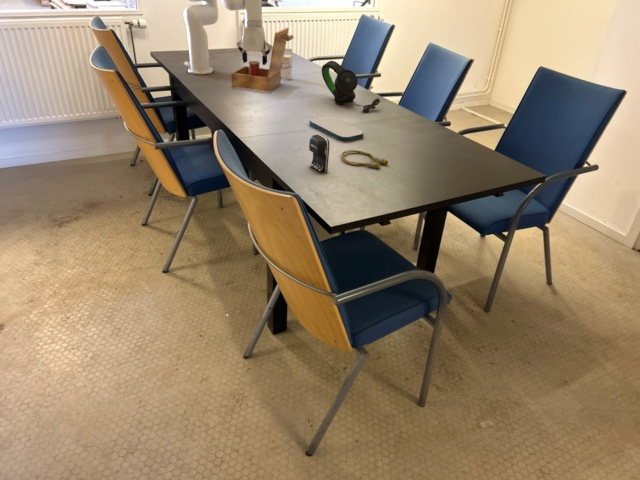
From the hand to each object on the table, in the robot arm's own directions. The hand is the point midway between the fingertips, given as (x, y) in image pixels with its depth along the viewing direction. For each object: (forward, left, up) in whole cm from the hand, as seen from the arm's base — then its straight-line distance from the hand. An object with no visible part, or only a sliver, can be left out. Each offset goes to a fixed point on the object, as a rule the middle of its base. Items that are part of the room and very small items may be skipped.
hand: (254, 63), depth 231 cm
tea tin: (0, 0, -11) cm, 11 cm away
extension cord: (+67, -66, -12) cm, 95 cm away
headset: (+47, -6, -12) cm, 49 cm away
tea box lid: (+10, +3, +6) cm, 12 cm away
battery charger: (+55, -79, -12) cm, 97 cm away
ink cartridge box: (+6, +22, -12) cm, 25 cm away
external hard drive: (+51, -41, -12) cm, 67 cm away
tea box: (0, +3, -11) cm, 12 cm away
